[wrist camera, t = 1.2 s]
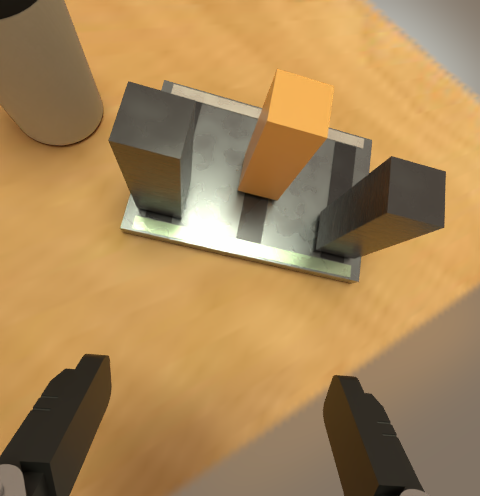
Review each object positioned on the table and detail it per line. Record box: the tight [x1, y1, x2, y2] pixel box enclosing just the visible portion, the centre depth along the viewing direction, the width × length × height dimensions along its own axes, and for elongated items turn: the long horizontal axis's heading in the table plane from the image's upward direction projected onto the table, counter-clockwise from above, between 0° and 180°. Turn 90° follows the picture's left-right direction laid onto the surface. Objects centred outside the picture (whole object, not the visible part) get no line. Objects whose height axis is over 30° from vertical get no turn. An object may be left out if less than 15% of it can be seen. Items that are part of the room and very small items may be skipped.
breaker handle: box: [238, 69, 334, 200], centre depth 25 cm, size 4×4×11 cm
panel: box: [109, 80, 446, 283], centre depth 26 cm, size 23×16×13 cm
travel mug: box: [0, 0, 103, 145], centre depth 22 cm, size 8×8×18 cm
